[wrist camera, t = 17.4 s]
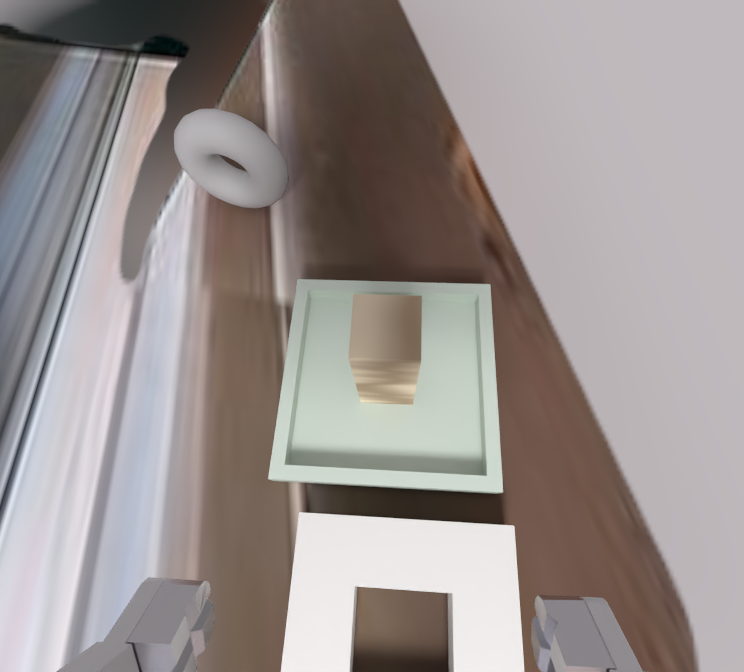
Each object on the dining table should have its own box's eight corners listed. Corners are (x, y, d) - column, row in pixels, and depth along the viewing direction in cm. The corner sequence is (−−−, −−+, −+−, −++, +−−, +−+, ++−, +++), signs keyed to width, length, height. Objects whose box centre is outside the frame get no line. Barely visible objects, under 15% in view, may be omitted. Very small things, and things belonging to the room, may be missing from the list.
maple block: (360, 402, 32) (348, 357, 23) (363, 354, 34) (353, 293, 25) (412, 404, 32) (421, 360, 23) (413, 355, 34) (421, 295, 24)
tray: (276, 481, 31) (268, 478, 29) (302, 291, 37) (297, 279, 35) (495, 493, 30) (503, 492, 28) (484, 297, 36) (490, 284, 34)
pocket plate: (278, 770, 25) (266, 797, 22) (306, 512, 30) (299, 512, 28) (521, 795, 24) (535, 825, 21) (504, 524, 29) (514, 525, 27)
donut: (197, 207, 42) (142, 120, 32) (211, 181, 43) (161, 90, 34) (292, 224, 40) (263, 138, 31) (303, 196, 42) (278, 106, 32)
